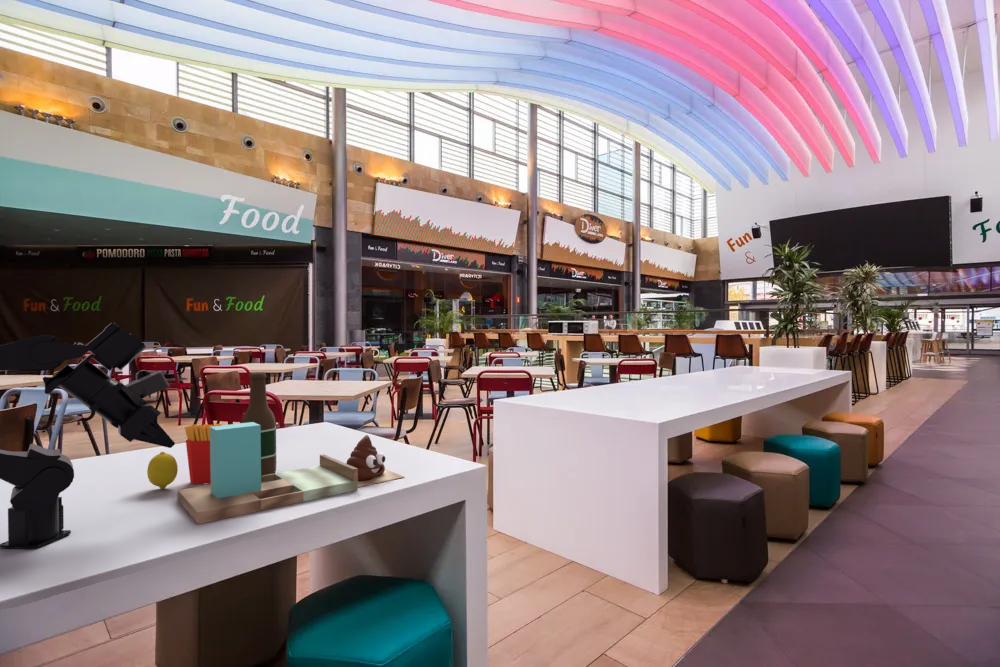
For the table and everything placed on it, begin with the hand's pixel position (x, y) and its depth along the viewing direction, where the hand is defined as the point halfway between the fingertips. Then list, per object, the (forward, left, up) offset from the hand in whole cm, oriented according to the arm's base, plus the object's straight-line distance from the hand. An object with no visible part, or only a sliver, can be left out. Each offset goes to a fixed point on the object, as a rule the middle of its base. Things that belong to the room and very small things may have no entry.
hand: (172, 445), depth 99 cm
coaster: (+26, -27, -13) cm, 40 cm away
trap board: (+12, -12, -13) cm, 21 cm away
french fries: (+21, +8, -13) cm, 26 cm away
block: (+8, -8, -11) cm, 15 cm away
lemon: (+15, +14, -13) cm, 24 cm away
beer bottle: (+27, -1, -13) cm, 30 cm away
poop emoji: (+26, -27, -13) cm, 40 cm away
